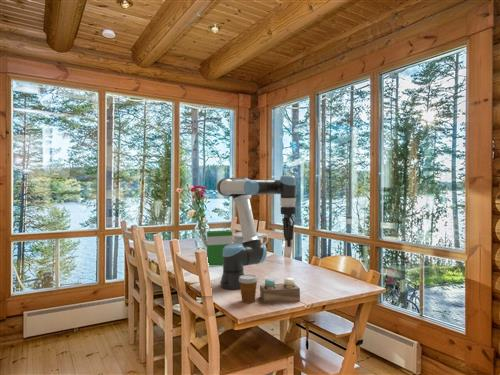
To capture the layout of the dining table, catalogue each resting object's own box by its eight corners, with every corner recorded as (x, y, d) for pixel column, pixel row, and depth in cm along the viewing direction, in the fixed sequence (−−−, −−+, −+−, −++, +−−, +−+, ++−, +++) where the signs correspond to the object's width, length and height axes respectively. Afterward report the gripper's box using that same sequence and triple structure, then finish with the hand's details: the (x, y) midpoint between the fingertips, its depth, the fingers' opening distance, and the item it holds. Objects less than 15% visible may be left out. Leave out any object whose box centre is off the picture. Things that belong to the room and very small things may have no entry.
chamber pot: (225, 256, 276) (225, 230, 276) (239, 250, 301) (239, 226, 301) (258, 258, 265) (257, 232, 265) (269, 252, 291) (269, 227, 290)
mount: (260, 296, 176) (260, 285, 176) (293, 294, 179) (293, 282, 179) (264, 303, 166) (264, 290, 166) (300, 300, 169) (299, 288, 169)
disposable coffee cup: (235, 303, 167) (235, 278, 167) (243, 296, 176) (242, 273, 175) (254, 305, 163) (253, 280, 163) (260, 298, 172) (260, 275, 172)
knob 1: (264, 296, 173) (264, 279, 173) (273, 296, 174) (273, 278, 174) (266, 300, 169) (266, 281, 168) (275, 299, 169) (275, 281, 169)
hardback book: (230, 262, 255) (230, 230, 254) (232, 264, 247) (232, 231, 247) (207, 263, 250) (206, 231, 250) (208, 266, 243) (207, 232, 243)
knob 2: (283, 295, 175) (283, 277, 175) (292, 294, 176) (292, 277, 176) (286, 298, 170) (285, 280, 170) (295, 297, 171) (295, 279, 171)
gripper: (299, 207, 167) (299, 255, 167) (291, 205, 180) (291, 249, 180) (284, 207, 166) (284, 255, 166) (277, 205, 179) (277, 250, 179)
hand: (288, 252), depth 173 cm, fingers closed
